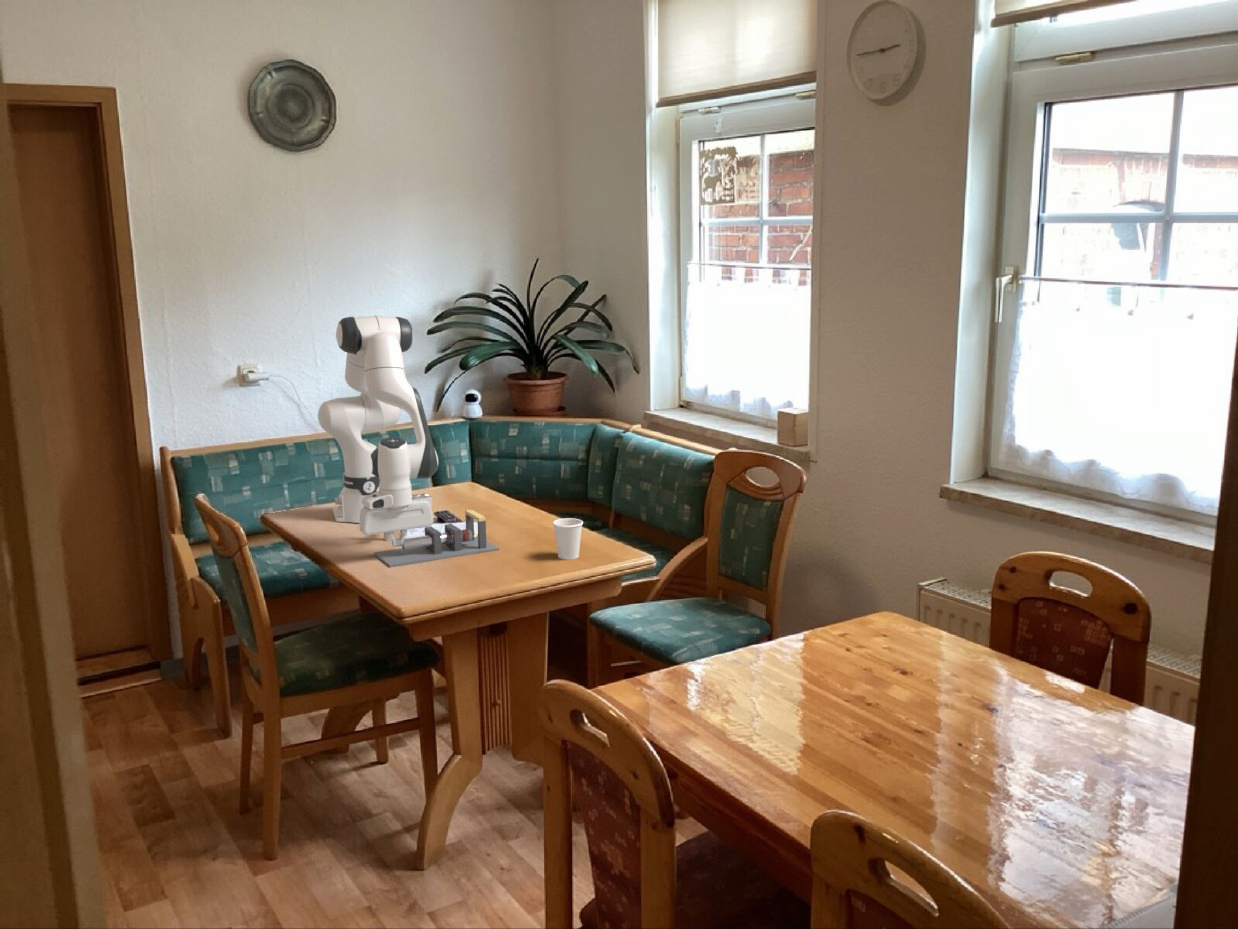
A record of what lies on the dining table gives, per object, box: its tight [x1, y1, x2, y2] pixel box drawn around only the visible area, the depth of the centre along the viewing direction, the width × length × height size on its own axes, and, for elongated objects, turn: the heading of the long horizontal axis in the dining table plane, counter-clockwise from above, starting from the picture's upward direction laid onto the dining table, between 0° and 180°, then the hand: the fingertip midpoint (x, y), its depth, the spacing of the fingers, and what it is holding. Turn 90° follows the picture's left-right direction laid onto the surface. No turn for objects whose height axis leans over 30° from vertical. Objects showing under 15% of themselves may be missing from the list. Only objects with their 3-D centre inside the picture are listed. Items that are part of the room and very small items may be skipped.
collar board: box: [373, 509, 500, 568], centre depth 302 cm, size 14×32×10 cm, turn 120°
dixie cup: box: [552, 517, 584, 561], centre depth 297 cm, size 8×8×10 cm
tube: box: [401, 528, 472, 550], centre depth 302 cm, size 4×20×4 cm, turn 120°
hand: (398, 545), depth 297 cm, fingers closed
